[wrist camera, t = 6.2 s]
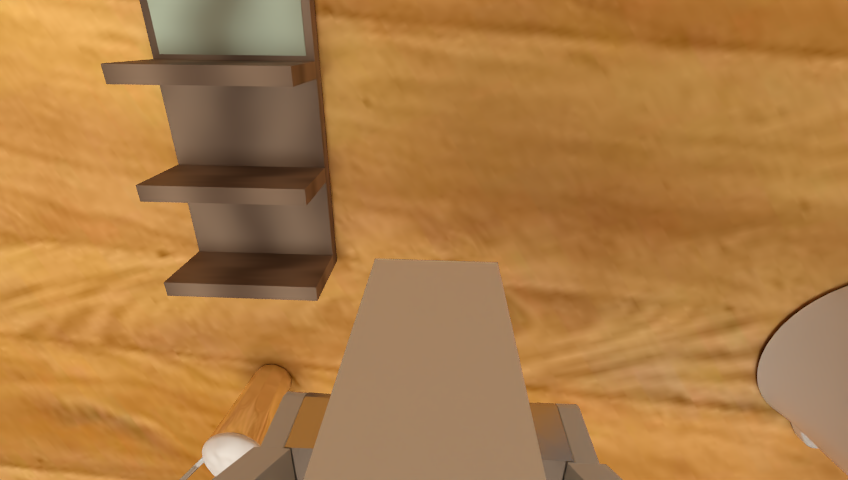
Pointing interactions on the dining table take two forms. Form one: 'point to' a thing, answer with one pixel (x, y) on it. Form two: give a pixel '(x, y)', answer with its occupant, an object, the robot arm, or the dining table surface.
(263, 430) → the milkshake
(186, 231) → the dining table surface
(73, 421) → the dining table surface
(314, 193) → the slot rack
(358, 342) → the peg
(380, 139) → the dining table surface
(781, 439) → the dining table surface
